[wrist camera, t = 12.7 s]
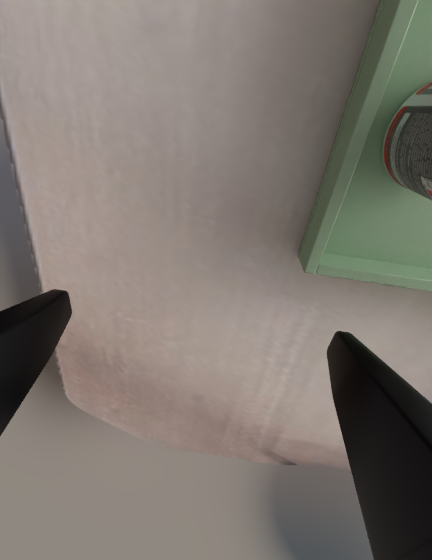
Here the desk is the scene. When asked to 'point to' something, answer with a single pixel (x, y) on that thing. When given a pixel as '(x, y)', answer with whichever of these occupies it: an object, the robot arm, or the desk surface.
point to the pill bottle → (411, 143)
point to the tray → (376, 165)
